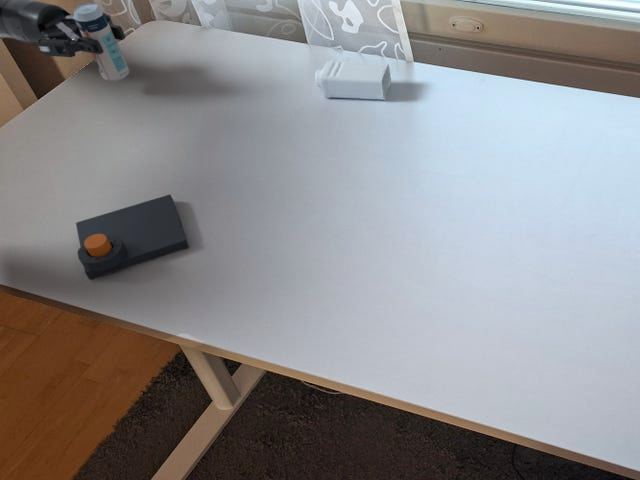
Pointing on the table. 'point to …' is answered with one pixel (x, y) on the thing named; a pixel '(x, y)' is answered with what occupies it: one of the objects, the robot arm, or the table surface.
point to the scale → (132, 235)
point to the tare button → (98, 245)
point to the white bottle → (354, 80)
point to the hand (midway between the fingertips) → (111, 40)
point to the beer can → (101, 41)
